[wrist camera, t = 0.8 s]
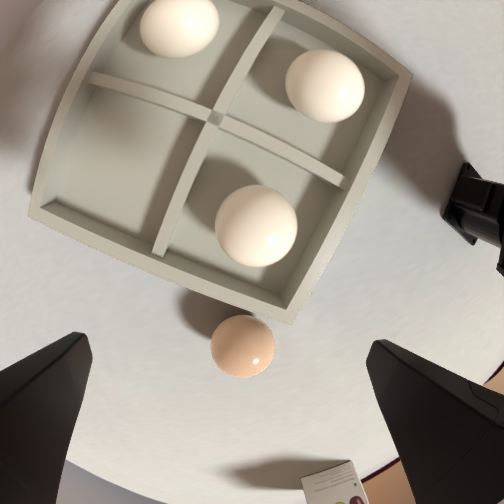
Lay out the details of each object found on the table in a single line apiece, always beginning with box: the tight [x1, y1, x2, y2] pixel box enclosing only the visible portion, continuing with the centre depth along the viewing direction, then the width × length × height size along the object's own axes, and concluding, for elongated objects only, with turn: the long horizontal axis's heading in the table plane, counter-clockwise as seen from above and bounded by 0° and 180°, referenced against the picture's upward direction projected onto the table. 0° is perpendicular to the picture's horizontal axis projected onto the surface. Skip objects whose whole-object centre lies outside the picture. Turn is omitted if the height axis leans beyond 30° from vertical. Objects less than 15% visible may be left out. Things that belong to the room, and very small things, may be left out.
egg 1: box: [139, 0, 220, 59], centre depth 12 cm, size 5×5×5 cm
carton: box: [28, 0, 413, 325], centre depth 16 cm, size 20×20×3 cm
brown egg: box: [210, 315, 275, 378], centre depth 20 cm, size 5×5×5 cm
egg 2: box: [215, 185, 298, 267], centre depth 16 cm, size 5×5×5 cm
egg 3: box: [285, 49, 365, 123], centre depth 14 cm, size 5×5×5 cm
